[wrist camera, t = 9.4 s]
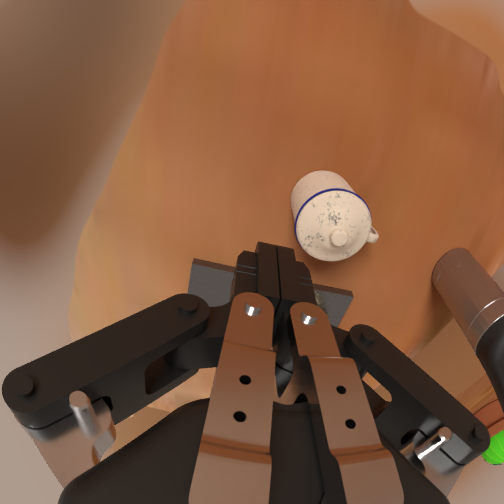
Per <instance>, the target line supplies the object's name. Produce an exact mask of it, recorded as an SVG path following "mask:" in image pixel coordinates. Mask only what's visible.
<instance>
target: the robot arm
mask: <svg viewBox="0 0 504 504" xmlns="http://www.w3.org/2000/svg"><path fill="white" fill-rule="evenodd" d="M432 282H433V285H434V287H435V288H436V290H437V291H438V293H439V294H440V296H441V297H442V299H443V301H444V302H445V304H446V305H447V307H448V308H449V310H450V312H451V313H452V315H453V316H454V318H455V319H456V321H457V323H458V324H459V326H460V328H461V329H462V331H463V333H464V334H465V336H466V338H467V339H468V341H469V343H470V344H471V346H472V348H473V350H474V352H475V353H476V355H477V357H478V359H479V360H480V362H481V364H482V366H483V368H484V369H485V371H486V373H487V375H488V377H489V379H490V381H491V383H492V385H493V388H494V390H495V392H496V395H497V397H498V400H499V403H500V405H501V408H502V411H503V413H504V292H503V290H502V289H501V288H500V287H499V286H498V284H497V283H496V282H495V281H494V280H493V278H492V277H491V276H490V275H489V274H488V273H487V271H486V270H485V269H484V268H483V267H482V266H481V265H480V263H479V262H478V261H477V260H476V259H475V258H474V257H473V256H472V255H471V254H470V253H469V252H468V251H467V250H465V249H460V248H459V249H454V250H452V251H450V252H448V253H446V254H445V255H444V256H443V257H442V258H441V259H440V260H439V261H438V263H437V264H436V266H435V268H434V270H433V274H432ZM312 285H313V284H312V280H311V275H310V271H309V269H308V268H307V267H306V266H305V264H304V263H303V262H298V261H296V259H295V254H294V249H292V248H287V247H283V246H278V245H273V244H268V243H263V242H259V241H258V243H257V246H256V250H255V253H254V252H249V251H243V252H242V253H241V254H240V255H239V256H238V259H237V263H236V267H235V272H234V276H233V280H232V284H231V291H230V299H229V302H228V303H227V304H225V305H222V306H216V307H209V305H208V304H207V302H206V301H205V300H203V299H202V298H200V297H198V296H196V295H193V294H177V295H174V296H172V297H170V298H168V299H166V300H163V301H161V302H159V303H157V304H155V305H153V306H151V307H148V308H146V309H144V310H142V311H140V312H138V313H136V314H133V315H131V316H129V317H127V318H125V319H123V320H120V321H118V322H116V323H114V324H112V325H110V326H108V327H105V328H103V329H101V330H99V331H97V332H95V333H92V334H90V335H88V336H86V337H84V338H82V339H79V340H77V341H75V342H73V343H71V344H69V345H66V346H64V347H62V348H60V349H58V350H56V351H53V352H51V353H49V354H47V355H45V356H42V357H40V358H38V359H36V360H34V361H32V362H30V363H27V364H25V365H23V366H21V367H18V368H16V369H14V370H13V371H11V372H10V373H9V374H8V375H7V376H6V378H5V380H4V382H3V385H2V395H3V398H4V400H5V402H6V403H7V405H8V407H9V408H10V409H11V410H12V412H13V413H14V416H15V418H16V419H17V421H18V422H19V423H20V425H21V426H22V427H23V428H24V429H25V431H26V432H27V433H28V435H29V436H30V437H31V438H32V439H33V440H34V442H35V444H36V446H37V448H38V449H39V451H40V453H41V454H42V456H43V458H44V459H45V461H46V462H47V464H48V465H49V467H50V469H51V470H52V472H53V473H54V475H55V476H56V478H57V479H58V481H59V482H60V484H61V485H62V487H63V488H64V490H63V492H62V493H61V496H60V498H59V501H58V504H450V503H449V501H448V499H447V498H446V497H447V496H448V494H449V492H450V491H451V489H452V487H453V486H454V484H455V482H456V481H457V479H458V477H459V475H460V474H461V472H462V470H463V468H464V466H465V465H467V464H468V463H470V462H471V461H473V460H474V459H475V458H477V457H478V456H480V455H481V454H482V453H484V452H485V451H486V450H487V449H488V448H489V446H490V434H489V431H488V429H487V428H486V426H485V425H484V424H483V423H482V422H481V421H480V420H479V419H478V418H476V417H475V416H474V415H473V414H472V413H471V412H470V411H469V410H468V409H466V408H465V407H464V406H463V405H462V404H461V403H460V402H459V401H457V400H456V399H455V398H454V397H453V396H452V395H451V394H449V393H448V392H447V391H446V390H445V389H444V388H443V387H442V386H440V385H439V384H438V383H437V382H436V381H435V380H434V379H432V378H431V377H430V376H429V375H428V374H427V373H426V372H424V371H423V370H422V369H421V368H420V367H419V366H417V365H416V364H415V363H414V362H413V361H412V360H411V359H409V358H408V357H407V356H406V355H405V354H404V353H402V352H401V351H400V350H399V349H398V348H397V347H395V346H394V345H393V344H392V343H391V342H390V341H388V340H387V339H386V338H385V337H384V336H383V335H381V334H380V333H379V332H378V331H377V330H375V329H374V328H372V327H370V326H367V325H362V324H358V325H355V326H353V327H352V328H351V329H350V331H349V332H348V331H345V330H342V329H340V328H337V327H335V326H333V325H331V324H330V322H329V319H328V316H327V314H326V313H325V312H324V311H323V310H322V309H321V308H320V307H318V306H317V302H316V298H315V293H314V289H313V286H312ZM272 347H273V351H272V350H271V348H272ZM212 367H217V368H216V373H215V377H214V381H213V386H212V390H211V394H210V398H206V399H199V400H196V401H192V402H190V403H187V404H185V405H183V406H181V407H179V408H177V409H176V410H174V411H173V412H172V413H170V414H169V415H168V416H167V417H165V418H163V419H162V420H161V421H159V422H158V423H157V424H155V425H154V426H152V427H151V428H150V429H148V430H147V431H145V432H144V433H143V434H141V435H140V436H138V437H137V438H135V439H134V440H132V441H131V442H130V443H128V444H127V445H125V446H124V447H122V448H121V449H119V450H118V451H116V452H115V453H113V454H112V455H110V456H109V457H107V458H106V459H104V460H103V461H101V462H100V460H101V457H102V455H103V454H104V453H105V452H106V451H107V450H108V449H109V448H110V447H111V446H112V445H113V444H114V442H115V439H116V429H115V426H114V425H116V424H117V423H119V422H121V421H123V420H124V419H126V418H128V417H129V416H131V415H132V414H134V413H136V412H137V411H139V410H140V409H142V408H144V407H145V406H147V405H149V404H150V403H152V402H153V401H155V400H156V399H158V398H160V397H161V396H163V395H164V394H166V393H167V392H169V391H170V390H172V389H173V388H175V387H177V386H178V385H180V384H181V383H183V382H184V381H186V380H187V379H189V378H190V377H192V376H193V375H195V374H196V373H197V372H198V370H199V369H200V368H212ZM367 372H368V373H369V374H370V375H371V376H373V377H374V378H375V379H376V380H377V381H378V382H379V383H380V384H381V385H382V386H384V387H385V388H386V389H387V390H388V391H389V392H390V394H391V396H392V401H391V402H387V401H385V400H384V399H382V398H381V397H380V396H379V395H378V394H377V393H376V392H375V391H374V390H373V389H372V388H371V387H370V386H368V385H367V384H366V383H365V382H364V381H363V380H362V378H363V377H364V376H365V374H366V373H367Z"/></svg>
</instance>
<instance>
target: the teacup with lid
mask: <svg viewBox="0 0 504 504" xmlns="http://www.w3.org/2000/svg"><path fill="white" fill-rule="evenodd" d="M291 208H292V212H293V217H294V221H295V235H296V238H297V241H298V243H299V244H300V246H301V247H302V249H303V250H304V251H305V252H307V253H308V254H309V255H311V256H312V257H314V258H316V259H319V260H323V261H339V260H343V259H346V258H348V257H350V256H352V255H354V254H355V253H356V252H358V251H359V250H360V249H361V248H362V247H363V245H364V244H365V243H366V242H369V243H375V242H376V241H377V239H378V237H379V235H378V233H377V231H376V230H375V229H374V228H373V227H372V226H371V221H372V220H371V213H370V210H369V208H368V206H367V204H366V203H365V201H364V200H363V199H362V198H361V197H360V196H359V195H357V194H356V193H355V192H354V191H353V189H352V188H351V187H350V186H349V184H348V183H347V182H346V181H345V180H344V179H343V178H342V177H341V176H339V175H338V174H336V173H334V172H330V171H315V172H312V173H309V174H307V175H306V176H304V177H303V178H301V179H300V180H299V181H298V183H297V184H296V185H295V187H294V189H293V191H292V195H291Z"/></svg>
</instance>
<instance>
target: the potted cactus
mask: <svg viewBox="0 0 504 504" xmlns="http://www.w3.org/2000/svg"><path fill="white" fill-rule="evenodd" d="M474 416H475V417H476V418H478V419H479V420H480V421H481V422H482V423H483V424H484V425H485V426H486V428H487V429H488V431H489V434H490V446H489V448H488V449H487V450H486V451H485V452H484V453H482V454H481V456H482V457H483V459H485V461H487V462H488V463H491V464H493V465H500V463H503V462H504V413H503V411H502V408H501V405H500V403H499V400H495V401H493V402H491V403H489V404H488V405H486V406H485V407H483V408H482V409H480V410H479V411H477V412H476V413H475V414H474Z"/></svg>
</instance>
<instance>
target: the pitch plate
mask: <svg viewBox="0 0 504 504" xmlns="http://www.w3.org/2000/svg"><path fill="white" fill-rule="evenodd" d="M234 272H235V267H232V266H227V265H222V264H218V263H213V262H209V261H204V260H199V259H195V258H194V260H193V263H192V268H191V274H190V281H189V287H188V294H193V295H196V296H198V297H200V298H202V299H203V300H205V301H206V302H207V304H208V305H209V307H216V306H222V305H225V304H227V303H228V302H229V299H230V291H231V284H232V280H233V276H234ZM312 284H313V283H312ZM312 286H313V289H314V293H315V298H316V302H317V306H318V307H320V308H321V309H322V310H323V311H324V312H325V313H326V314H327V316H328V319H329V322H330V324H331V325H333V326H335V327H337V326H338V325H339V323H340V321H341V319H342V317H343V316H344V314H345V312H346V310H347V308H348V306H349V304H350V302H351V301H352V299H353V294H352V292H351V291H347V290H342V289H337V288H332V287H327V286H322V285H317V284H313V285H312Z"/></svg>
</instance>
